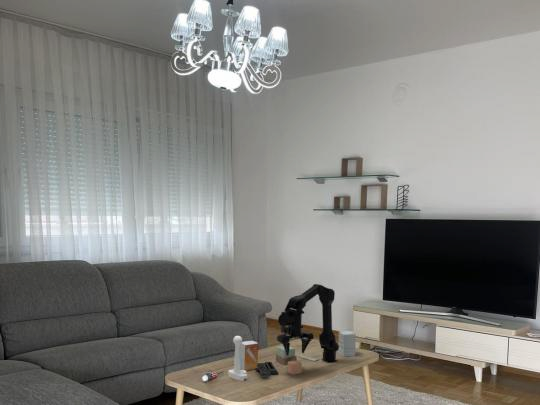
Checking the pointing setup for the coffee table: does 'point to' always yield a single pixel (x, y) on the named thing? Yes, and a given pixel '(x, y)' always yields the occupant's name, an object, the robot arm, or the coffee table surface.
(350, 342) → the supplement box
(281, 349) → the sage top block
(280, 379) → the coffee table surface
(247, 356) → the small box
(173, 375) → the coffee table surface
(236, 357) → the joystick
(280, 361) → the walnut base block
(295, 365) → the terracotta cube
